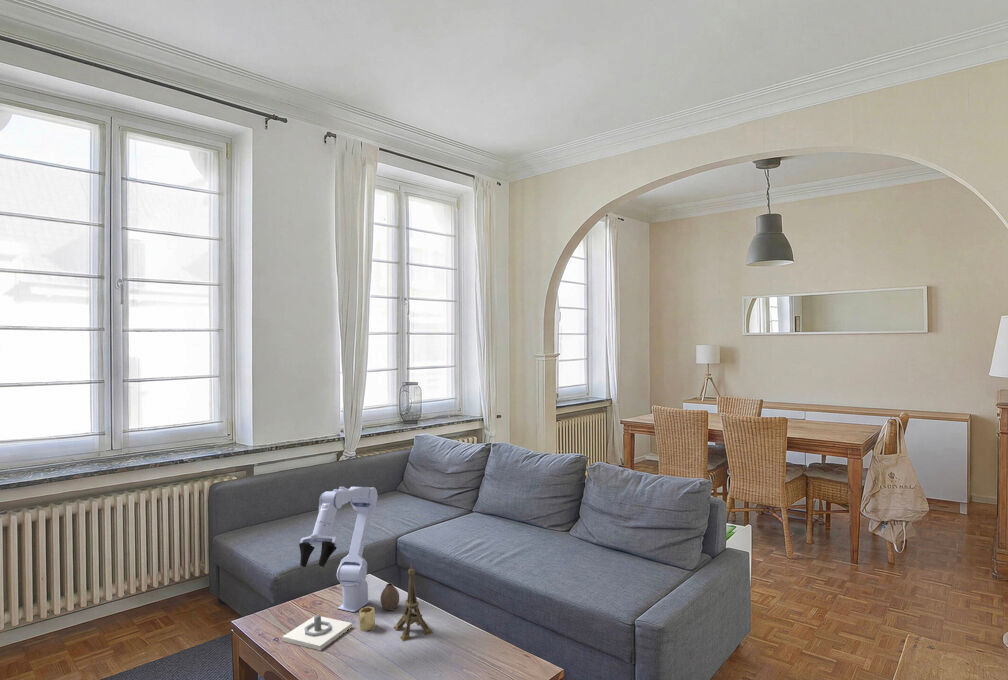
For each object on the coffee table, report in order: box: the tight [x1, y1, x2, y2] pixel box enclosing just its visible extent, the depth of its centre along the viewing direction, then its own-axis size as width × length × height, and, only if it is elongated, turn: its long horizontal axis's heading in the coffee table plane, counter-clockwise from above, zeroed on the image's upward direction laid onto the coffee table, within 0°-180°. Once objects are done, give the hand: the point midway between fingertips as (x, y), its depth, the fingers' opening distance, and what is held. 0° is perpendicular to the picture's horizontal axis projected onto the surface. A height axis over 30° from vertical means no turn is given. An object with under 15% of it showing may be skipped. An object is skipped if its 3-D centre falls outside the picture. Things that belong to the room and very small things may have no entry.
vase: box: [380, 582, 400, 611], centre depth 219 cm, size 7×7×9 cm
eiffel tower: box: [393, 563, 434, 642], centre depth 202 cm, size 11×11×25 cm
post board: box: [281, 614, 353, 651], centre depth 201 cm, size 16×16×6 cm
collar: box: [358, 606, 376, 632], centre depth 205 cm, size 5×5×6 cm
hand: (311, 566), depth 194 cm, fingers open, 7 cm apart
